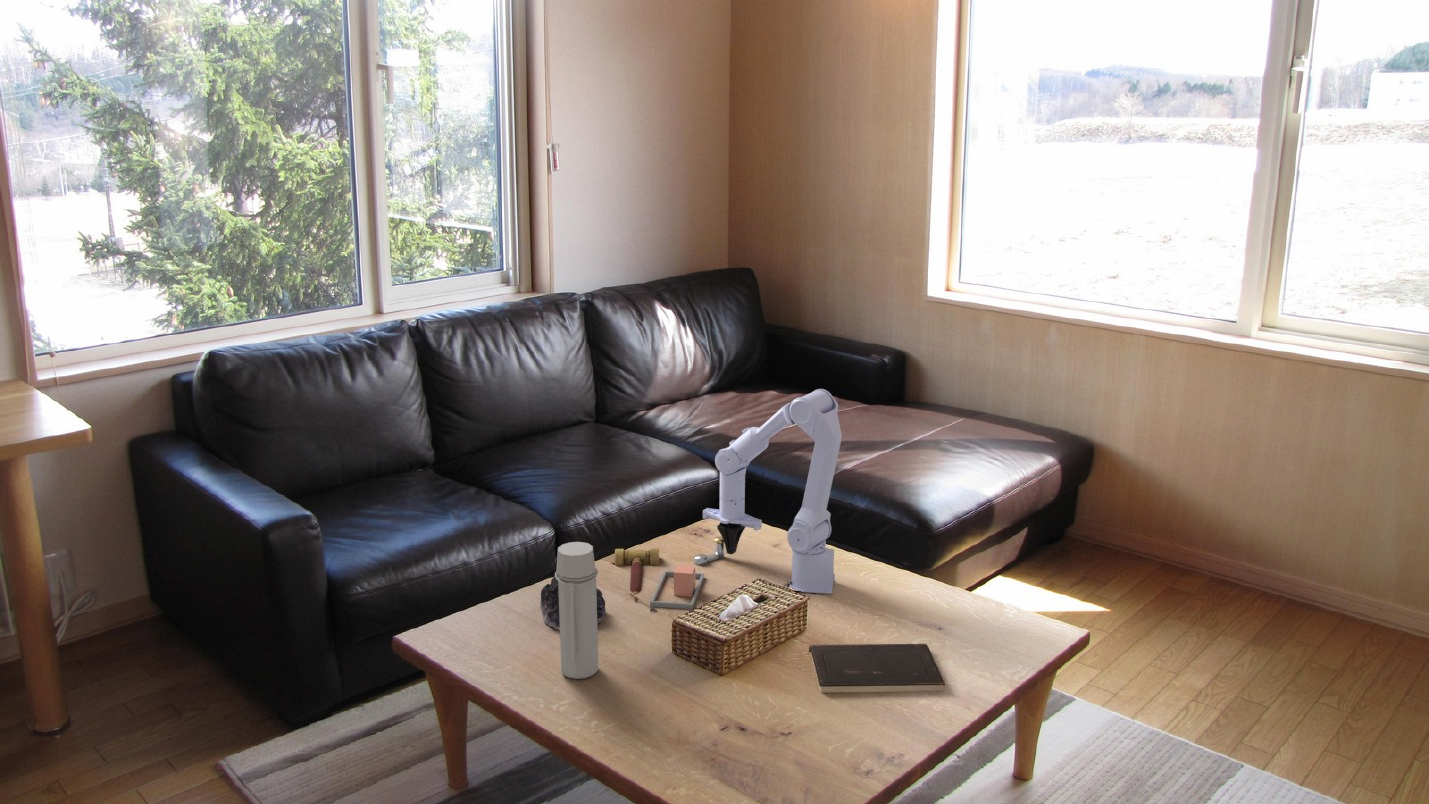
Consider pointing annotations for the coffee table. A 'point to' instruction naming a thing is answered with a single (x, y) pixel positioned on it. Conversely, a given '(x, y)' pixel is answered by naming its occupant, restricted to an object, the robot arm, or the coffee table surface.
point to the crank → (703, 559)
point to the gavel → (636, 564)
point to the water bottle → (577, 609)
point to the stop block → (684, 580)
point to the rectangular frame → (673, 604)
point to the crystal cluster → (552, 604)
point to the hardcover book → (875, 668)
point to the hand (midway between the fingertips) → (731, 552)
